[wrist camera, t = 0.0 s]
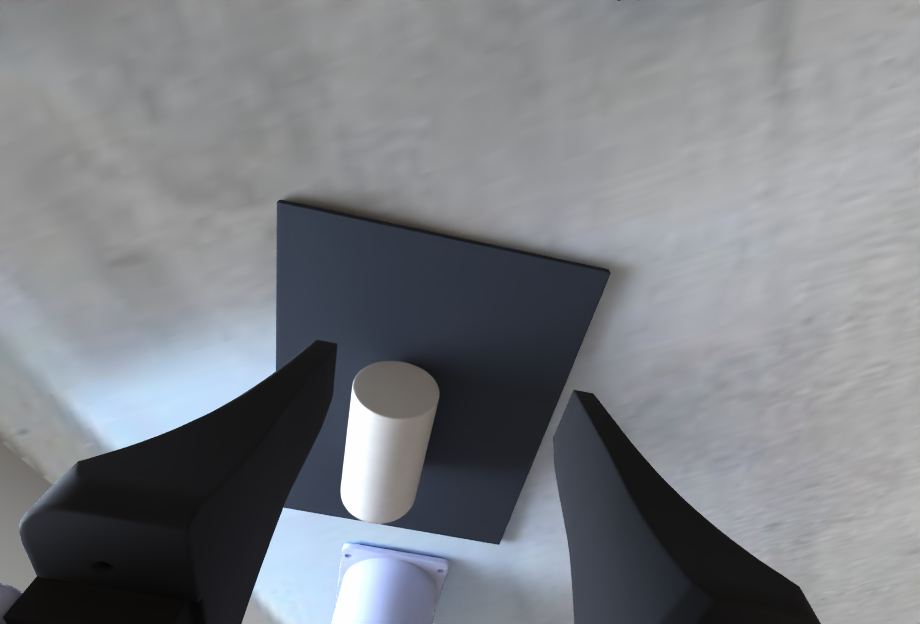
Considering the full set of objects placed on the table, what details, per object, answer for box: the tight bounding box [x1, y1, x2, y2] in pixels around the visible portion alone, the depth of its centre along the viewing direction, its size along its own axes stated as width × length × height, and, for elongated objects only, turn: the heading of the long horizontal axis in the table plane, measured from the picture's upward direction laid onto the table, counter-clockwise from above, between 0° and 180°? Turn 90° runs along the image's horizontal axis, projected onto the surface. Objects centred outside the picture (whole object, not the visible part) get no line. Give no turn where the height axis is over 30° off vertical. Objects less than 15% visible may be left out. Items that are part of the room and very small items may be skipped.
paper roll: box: [341, 361, 440, 524], centre depth 26 cm, size 8×4×4 cm, turn 168°
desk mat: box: [276, 200, 610, 545], centre depth 28 cm, size 22×16×1 cm
